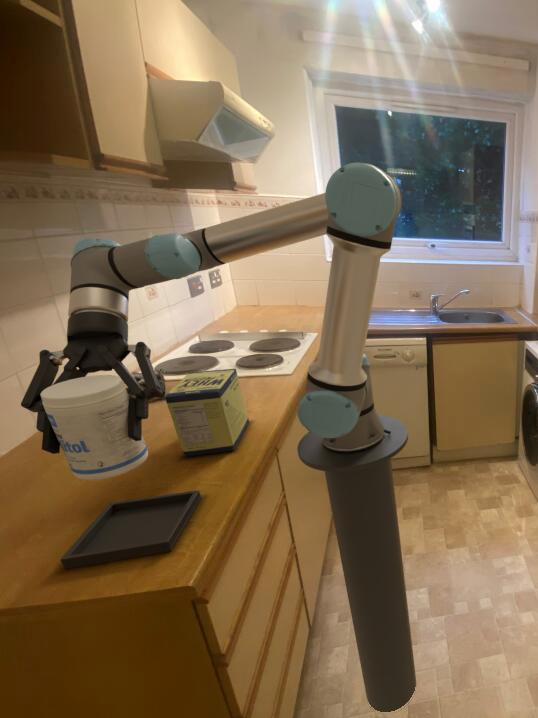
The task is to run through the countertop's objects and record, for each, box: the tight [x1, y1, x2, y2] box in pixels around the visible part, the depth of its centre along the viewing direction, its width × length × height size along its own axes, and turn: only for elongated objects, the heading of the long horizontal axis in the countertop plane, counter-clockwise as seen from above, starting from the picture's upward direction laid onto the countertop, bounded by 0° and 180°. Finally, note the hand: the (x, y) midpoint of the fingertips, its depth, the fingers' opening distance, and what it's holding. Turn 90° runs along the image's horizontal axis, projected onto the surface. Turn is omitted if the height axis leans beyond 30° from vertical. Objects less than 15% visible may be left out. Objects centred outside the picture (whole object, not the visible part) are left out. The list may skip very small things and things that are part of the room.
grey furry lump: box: [126, 368, 167, 400], centre depth 130 cm, size 12×11×15 cm
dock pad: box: [60, 489, 203, 570], centre depth 77 cm, size 15×15×2 cm
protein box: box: [164, 368, 250, 458], centre depth 104 cm, size 10×16×16 cm
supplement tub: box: [40, 374, 149, 481], centre depth 69 cm, size 10×10×15 cm
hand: (94, 444), depth 67 cm, fingers closed on supplement tub, 10 cm apart
